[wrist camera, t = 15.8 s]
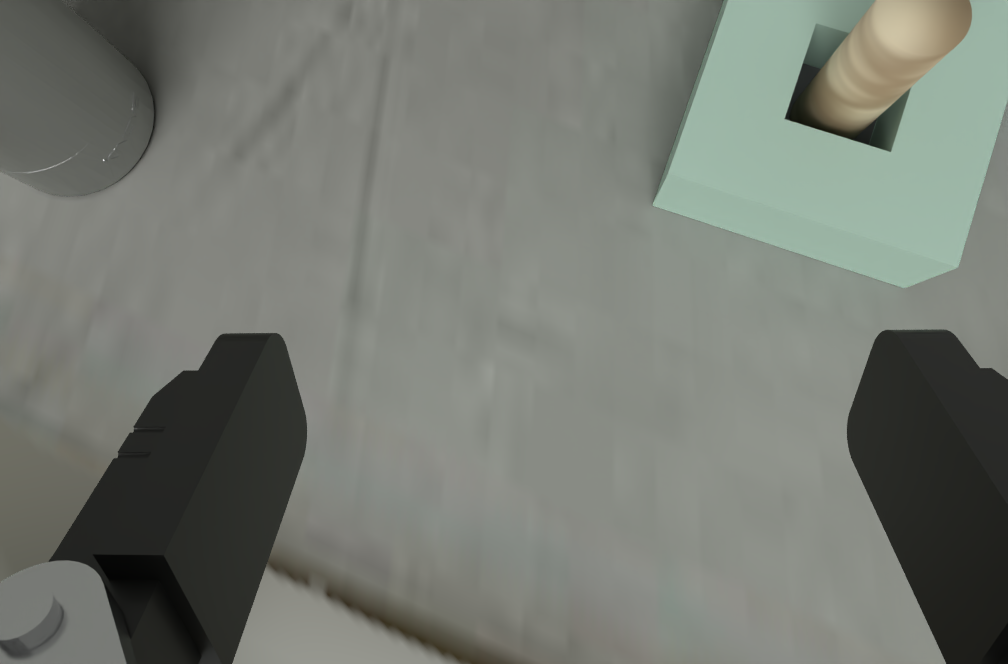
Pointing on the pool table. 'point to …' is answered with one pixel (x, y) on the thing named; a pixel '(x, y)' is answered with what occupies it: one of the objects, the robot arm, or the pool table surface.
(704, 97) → the socket block
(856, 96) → the pin
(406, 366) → the pool table surface
